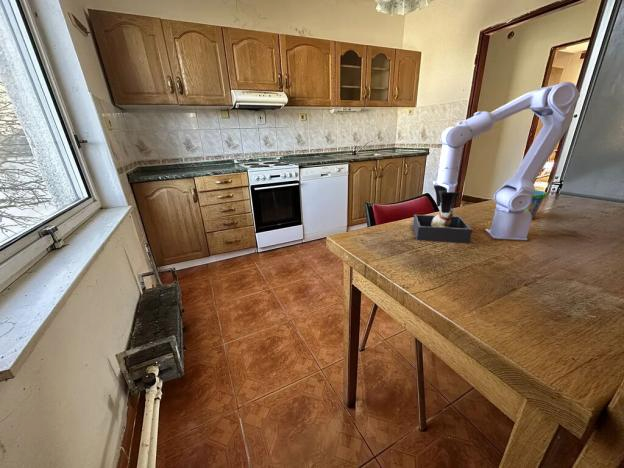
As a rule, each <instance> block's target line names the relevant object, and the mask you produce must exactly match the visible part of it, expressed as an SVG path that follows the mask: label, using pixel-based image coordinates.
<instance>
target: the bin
mask: <svg viewBox="0 0 624 468" xmlns="http://www.w3.org/2000/svg"><path fill="white" fill-rule="evenodd" d="M436 215H437V214H435V215H434V214H433V215H432V214H413V219H412V220H413V221H412V228H413V231H414V235H415V238H416V240H417V241H426V242H427V241H428V242H430V241H431V242H447V243H459V244H470V243H471V237H472V233H473V229H472V228H471V226H470V225H469V224H468V222H466V220H465V219H463V217H462V216H460V215H455V216H454V215H453V216H452V218H450V220H451V223H450V225H449V228H446V227H433V226H431V222H432V220H433V218H434V217H435V216H436Z"/></svg>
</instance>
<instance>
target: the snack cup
mask: <svg viewBox="0 0 624 468" xmlns="http://www.w3.org/2000/svg"><path fill="white" fill-rule="evenodd" d="M546 197H547V192H545V191H542V190H538V189H535V193H534V194H533V196H532V202H531V205H530V206H529V207H528V208H527V209H526V210H527V211H530V213H531V215H532V219H534V218H535V217H536V215H537V213H538V211H539V209H540V207H541V205H542V203H543V201H544V199H545V198H546Z"/></svg>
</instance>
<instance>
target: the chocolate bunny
mask: <svg viewBox="0 0 624 468" xmlns="http://www.w3.org/2000/svg"><path fill="white" fill-rule="evenodd" d="M439 210H440V211H439V214H435V215H436V216H435V217H434V218H433V220H432V222H431V226H433V227H446V228H449V225H450V223H451V220H450V218H452V216H454V209H453V208H452V207H451V209H450V212H449V213H442V212H441V203H440V206H439Z"/></svg>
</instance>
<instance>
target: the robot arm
mask: <svg viewBox="0 0 624 468" xmlns="http://www.w3.org/2000/svg"><path fill="white" fill-rule="evenodd" d="M580 97H581V94H580V92H579V90H578V88H577V86H576V85H575V83H574V82H571V81H563V82H560V83H558V84H553V85H550V86H543V87H539V88H537V89H535V90H531V91H529V92H527V93H524V94H522V95H521V96H519V97H516V98H515V99H513V100H511V101H509V102H507V103H505V104H503V105H501V106H499V107H498V108H496V109H494V110H493V111H491V112H489V111H485V110H483V111H481V110H480V111H479V110H478V111H477V112H474V113H473V116H471V117H469V118H467V119H464V120H463V121H462V120H460V121H458V122H456V125H455V126H449V127H447V128H446V129H445V130H444V131H443V132H442V133H441V136H440V137H439V141H440V143H441V145H442V146H441V152H440V159H439V164H438V171H437V180H433V181H432V184H433V189H434V192H435V197H436V199H435V200H436V207H440V203H441V210H440V212H442V213H449V212H450V209H451V208H452V207H453V204H454V203H455V201H456V200H457V198H458V197H459V195H460V192H459V191H456V189H457V186H458V184H459V183H458V178H459V172H460V166H461V159H462V155H463V148H464V147H463V146H464V145H466V143H467V142H468V141H470V140H472V139H474V138H476V137H478V136H480V135H482V134H485V133H486V132H489V131H490V130H492V129H493V127H494V125H495V124H496V123H497V122H500V121H503V120H505V119H506V118H509V117H512V116H513V115H516V114H518V113H520V112H522V111H526V110H530V111H531V112H532V113H533V114H534V115H536V116H537V117H538V118H539V119H540V122H541V123H542V126H541V129H540V130H539V132H538V134H537V135H536V136H535V139H534V140H533V142H532V143H531V145H530V147H529V149H528V150H527V152H526V154H525V155H524V157H523V159H522V161H521V163H520V164H519V166H518V168H517V169H516V171H515V172H514V174H513V175H512V177H511V178H509V179H507V180H505V182H504V183H503V185H502V186H501V187H500V188H499V189H497V190H496V191H495V193H494V195H493V200H494V203H496V205H495V209H494V213H493V218H492V221H491V225H490V228H486V229H485V232H486V233H487V234H488V235H489V236H490V237H491V238H492V239H494V240H495V239H496V240H510V241H511V240H513V241H528V240H529V239H528V235H529V233H530V232H529V231H530V228H531V224H532V220H533V218H532V215H531V213H530V211H527V210H526V209H527V208H528V207H529V206H530V205H531V202H532V196H533V194H534V193H535V190H536V189H535V185H534V182H535V181H536V179H537V178H538V177H539V175H540V173H541V172H542V170H543V168H544V167H545V165H546V163H547V162H548V160H549V159H550V157H551V156H552V154H553V153H554V151H555V149H556V148H557V146H558V145H559V143H560V142H561V140H562V138H563V137H564V135H565V133H566V132H567V130H568V129H569V127H570V126H571V124H572V122H573V117H574V111H575V105H576V103H577V101H578V100H579V98H580Z"/></svg>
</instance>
